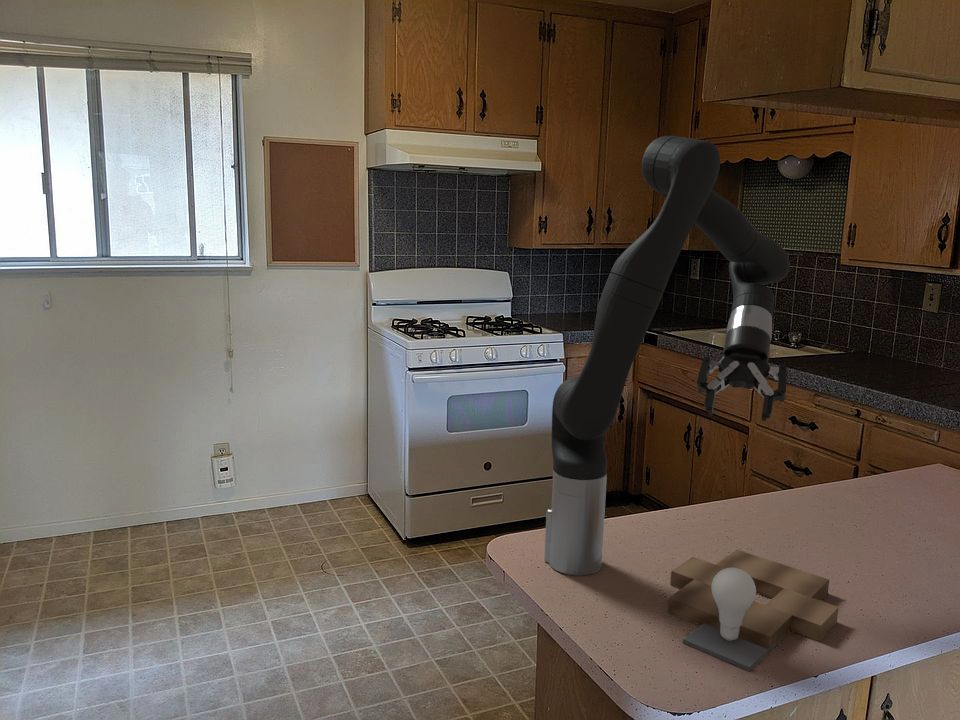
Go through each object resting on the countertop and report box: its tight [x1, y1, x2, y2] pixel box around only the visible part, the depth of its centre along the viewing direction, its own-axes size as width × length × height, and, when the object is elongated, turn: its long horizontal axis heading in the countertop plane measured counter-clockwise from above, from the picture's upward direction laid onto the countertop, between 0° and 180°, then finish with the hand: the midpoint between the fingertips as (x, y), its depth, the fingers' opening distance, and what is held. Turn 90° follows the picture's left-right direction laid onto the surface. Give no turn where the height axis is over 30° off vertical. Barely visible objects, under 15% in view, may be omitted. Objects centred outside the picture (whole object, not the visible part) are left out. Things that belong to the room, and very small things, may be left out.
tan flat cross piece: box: [667, 549, 839, 653], centre depth 125 cm, size 24×24×2 cm
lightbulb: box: [711, 568, 757, 641], centre depth 112 cm, size 6×6×11 cm
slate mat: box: [682, 623, 777, 672], centre depth 113 cm, size 10×9×1 cm
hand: (736, 415), depth 128 cm, fingers open, 8 cm apart
